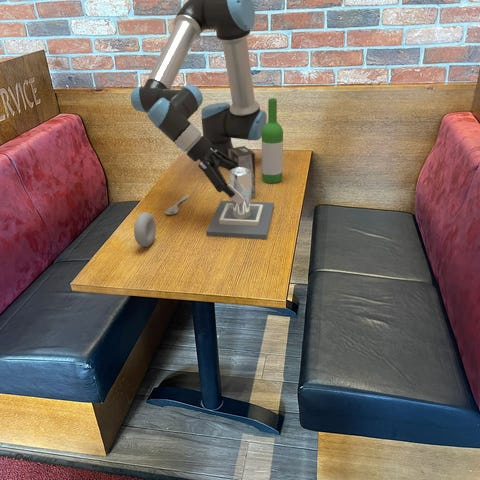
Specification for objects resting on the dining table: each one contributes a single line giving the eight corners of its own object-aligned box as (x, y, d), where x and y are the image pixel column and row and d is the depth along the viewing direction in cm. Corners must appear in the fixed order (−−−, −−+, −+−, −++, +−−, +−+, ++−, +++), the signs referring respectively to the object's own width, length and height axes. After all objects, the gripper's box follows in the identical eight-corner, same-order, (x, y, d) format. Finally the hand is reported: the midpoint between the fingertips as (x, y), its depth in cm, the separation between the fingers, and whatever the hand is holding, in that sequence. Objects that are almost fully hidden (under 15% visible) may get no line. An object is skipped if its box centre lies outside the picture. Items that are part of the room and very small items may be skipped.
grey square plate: (221, 204, 154) (220, 196, 152) (273, 206, 151) (273, 198, 149) (206, 235, 135) (205, 227, 134) (266, 239, 132) (266, 230, 131)
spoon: (162, 217, 148) (161, 213, 147) (185, 192, 165) (185, 188, 164) (173, 218, 147) (173, 214, 146) (196, 193, 164) (195, 189, 163)
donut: (148, 236, 136) (144, 206, 131) (159, 236, 135) (155, 206, 130) (134, 253, 128) (129, 221, 123) (146, 254, 127) (141, 222, 122)
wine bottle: (279, 185, 167) (280, 102, 152) (259, 182, 169) (258, 101, 154) (284, 177, 173) (286, 97, 158) (265, 175, 175) (265, 96, 160)
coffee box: (256, 197, 158) (255, 153, 150) (239, 201, 156) (238, 156, 148) (245, 188, 165) (244, 145, 157) (229, 191, 163) (227, 148, 155)
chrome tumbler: (250, 221, 139) (249, 175, 131) (228, 220, 140) (226, 174, 133) (254, 211, 145) (253, 167, 137) (233, 210, 146) (231, 166, 139)
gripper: (196, 139, 145) (243, 184, 150) (173, 167, 124) (229, 218, 129) (211, 123, 142) (259, 169, 147) (191, 149, 120) (247, 202, 126)
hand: (245, 192), depth 138 cm, fingers open, 13 cm apart
